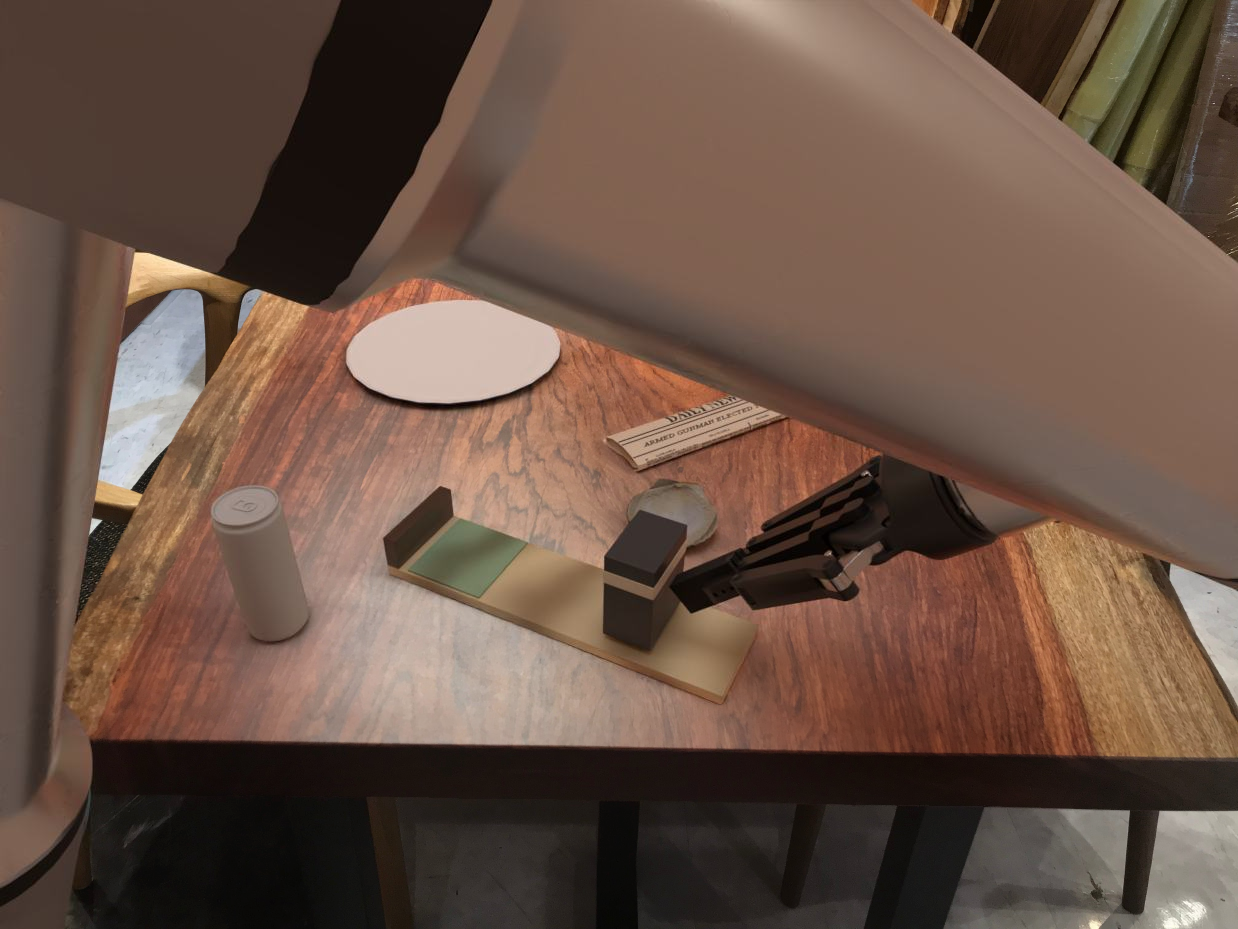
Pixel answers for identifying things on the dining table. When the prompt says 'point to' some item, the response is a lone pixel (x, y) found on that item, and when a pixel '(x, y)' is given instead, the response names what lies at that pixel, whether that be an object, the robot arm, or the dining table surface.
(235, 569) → the beverage can
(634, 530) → the dark grey lidded box
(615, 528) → the dining table surface
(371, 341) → the plate
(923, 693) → the dining table surface
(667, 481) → the seashell
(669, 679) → the rail
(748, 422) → the newspaper
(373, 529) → the dining table surface
